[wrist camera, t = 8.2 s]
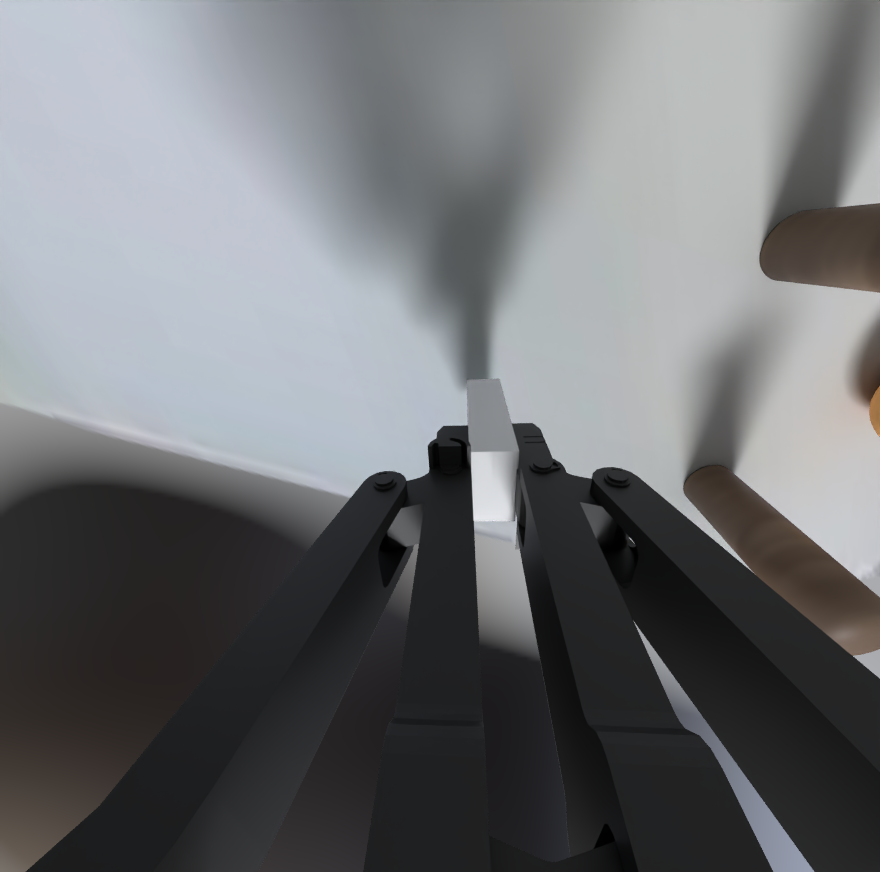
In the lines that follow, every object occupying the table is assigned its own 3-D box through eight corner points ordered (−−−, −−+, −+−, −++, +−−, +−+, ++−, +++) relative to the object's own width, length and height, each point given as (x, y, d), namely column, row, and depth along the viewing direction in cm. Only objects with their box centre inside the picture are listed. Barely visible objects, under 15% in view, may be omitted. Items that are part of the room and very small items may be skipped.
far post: (690, 465, 20) (838, 609, 12) (739, 464, 20) (922, 611, 12) (678, 502, 21) (805, 655, 13) (724, 502, 21) (881, 656, 13)
